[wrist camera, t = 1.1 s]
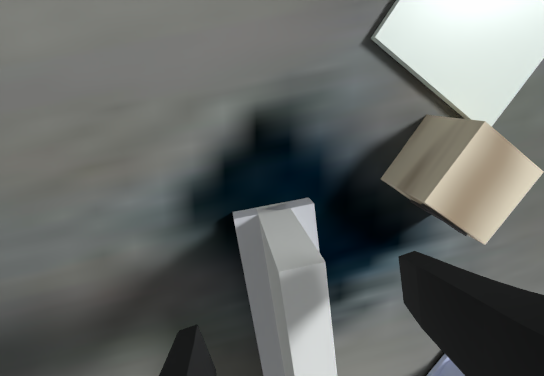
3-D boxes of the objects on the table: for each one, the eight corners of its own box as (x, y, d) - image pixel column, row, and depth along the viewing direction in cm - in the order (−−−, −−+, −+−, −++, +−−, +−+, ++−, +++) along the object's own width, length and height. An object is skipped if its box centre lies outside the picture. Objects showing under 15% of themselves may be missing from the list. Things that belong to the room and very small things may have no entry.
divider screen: (232, 212, 21) (242, 279, 14) (308, 197, 22) (359, 254, 14) (268, 402, 26) (291, 531, 18) (330, 386, 26) (376, 505, 19)
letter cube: (475, 155, 23) (543, 171, 18) (429, 216, 24) (483, 247, 19) (425, 114, 22) (485, 121, 17) (378, 180, 22) (422, 204, 18)
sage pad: (560, 25, 21) (569, 23, 21) (479, 131, 22) (486, 132, 22) (456, -90, 18) (463, -96, 18) (370, 38, 20) (374, 37, 19)
